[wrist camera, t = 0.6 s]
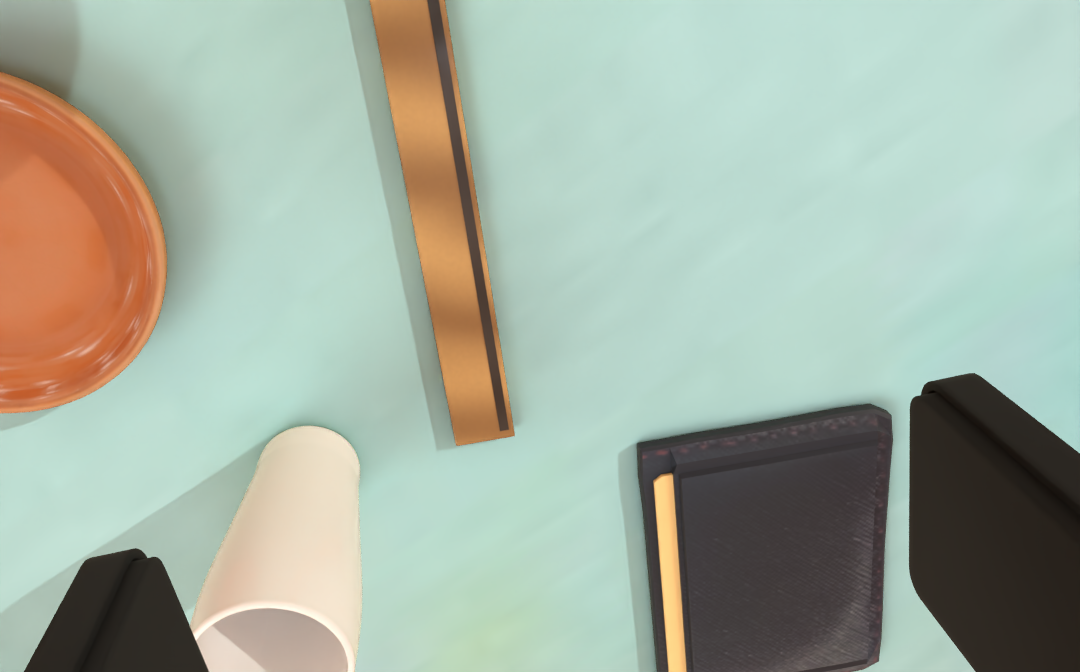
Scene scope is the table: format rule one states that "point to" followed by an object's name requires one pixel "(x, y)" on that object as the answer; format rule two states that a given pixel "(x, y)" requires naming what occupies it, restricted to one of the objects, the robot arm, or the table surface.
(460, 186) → the ruler
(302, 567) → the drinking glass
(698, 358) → the table surface
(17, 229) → the saucer
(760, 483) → the wallet
